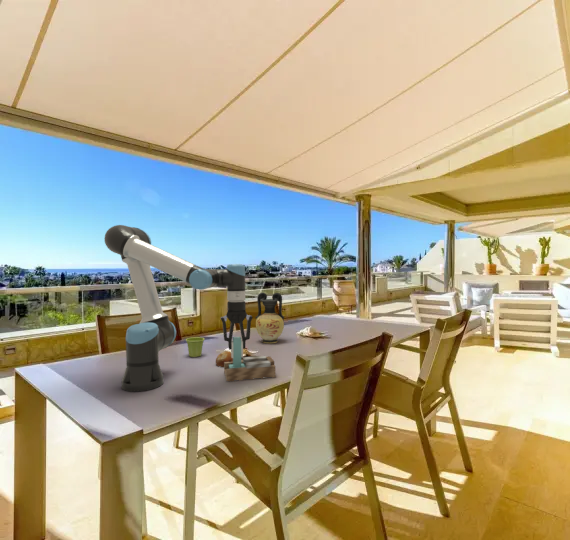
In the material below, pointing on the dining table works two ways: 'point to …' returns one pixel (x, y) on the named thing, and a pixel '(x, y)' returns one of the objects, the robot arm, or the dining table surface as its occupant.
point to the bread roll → (223, 358)
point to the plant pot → (195, 346)
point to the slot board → (251, 368)
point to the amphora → (269, 318)
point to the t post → (237, 353)
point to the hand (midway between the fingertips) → (237, 356)
